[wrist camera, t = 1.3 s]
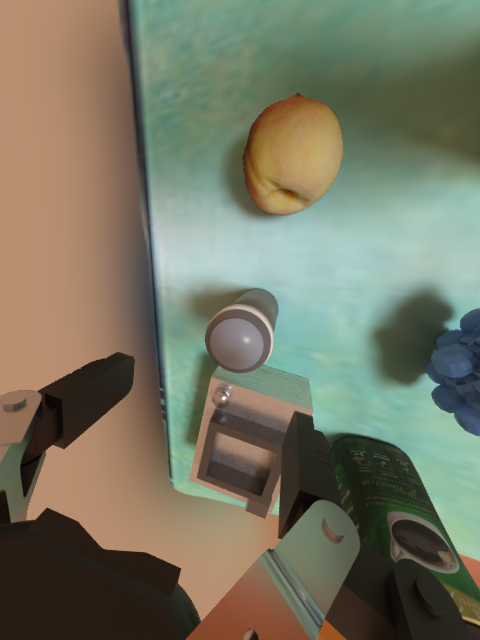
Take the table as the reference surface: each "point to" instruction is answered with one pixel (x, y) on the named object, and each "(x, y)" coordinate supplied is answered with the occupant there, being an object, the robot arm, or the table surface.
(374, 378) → the table surface
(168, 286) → the table surface
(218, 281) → the table surface
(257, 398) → the box with square recess
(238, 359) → the flashlight
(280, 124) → the fruit
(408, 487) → the coffee jar
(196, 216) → the table surface
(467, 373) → the grapes
